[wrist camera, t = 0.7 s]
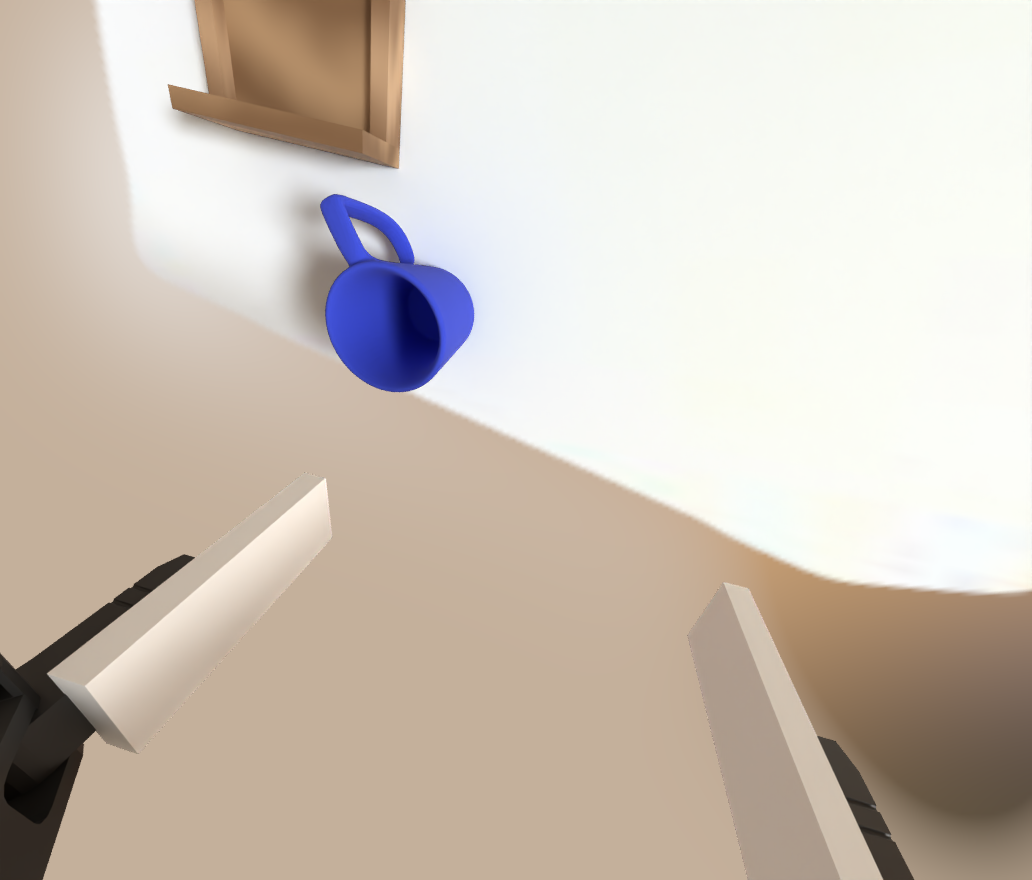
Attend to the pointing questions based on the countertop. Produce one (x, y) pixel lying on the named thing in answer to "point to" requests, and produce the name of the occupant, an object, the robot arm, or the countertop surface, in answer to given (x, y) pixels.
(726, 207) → the countertop surface
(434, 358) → the mug
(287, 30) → the tray
